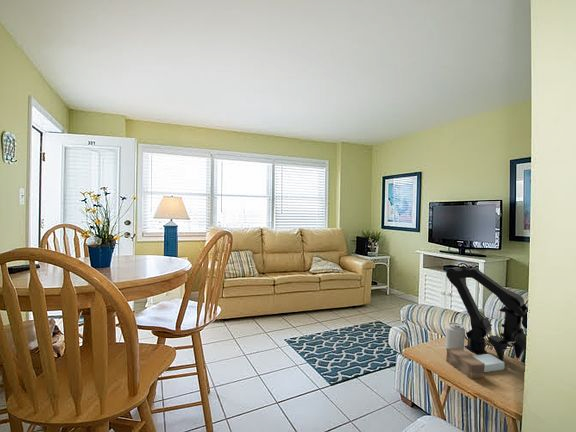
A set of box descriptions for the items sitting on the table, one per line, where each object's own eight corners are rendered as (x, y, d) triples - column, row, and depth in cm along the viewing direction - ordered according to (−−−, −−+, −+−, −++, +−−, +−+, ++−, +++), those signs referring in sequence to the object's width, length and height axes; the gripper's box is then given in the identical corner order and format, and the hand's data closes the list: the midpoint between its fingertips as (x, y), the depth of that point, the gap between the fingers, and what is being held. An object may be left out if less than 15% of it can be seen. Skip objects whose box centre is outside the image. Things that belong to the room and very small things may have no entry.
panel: (466, 363, 130) (466, 356, 130) (488, 360, 133) (489, 353, 132) (480, 372, 123) (481, 365, 123) (504, 369, 126) (504, 362, 126)
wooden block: (446, 361, 131) (447, 348, 130) (457, 359, 132) (458, 347, 132) (471, 379, 118) (472, 365, 118) (483, 377, 120) (484, 363, 119)
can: (455, 355, 136) (457, 329, 135) (441, 347, 143) (443, 322, 142) (467, 352, 139) (469, 326, 138) (452, 344, 146) (454, 320, 145)
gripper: (513, 334, 120) (510, 372, 121) (549, 330, 124) (545, 367, 125) (488, 322, 130) (485, 357, 131) (521, 319, 135) (518, 353, 136)
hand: (509, 359), depth 131 cm, fingers open, 9 cm apart
